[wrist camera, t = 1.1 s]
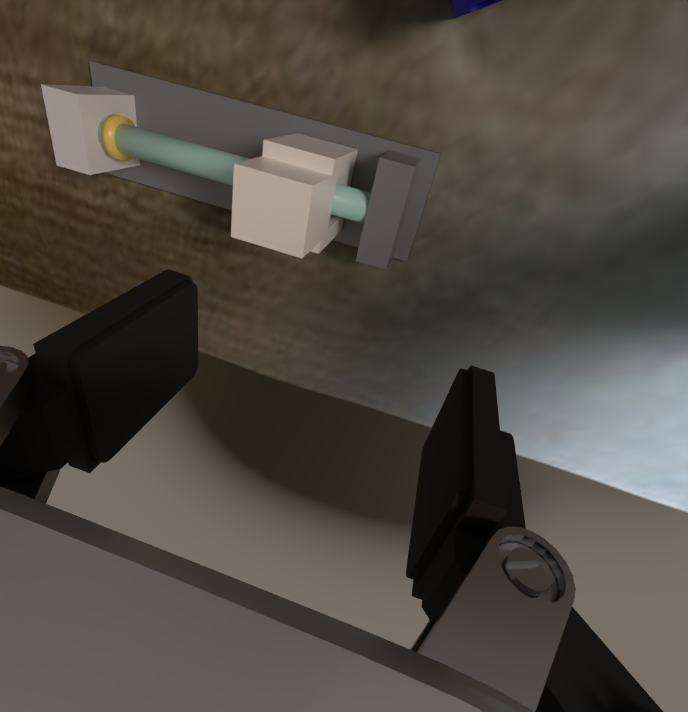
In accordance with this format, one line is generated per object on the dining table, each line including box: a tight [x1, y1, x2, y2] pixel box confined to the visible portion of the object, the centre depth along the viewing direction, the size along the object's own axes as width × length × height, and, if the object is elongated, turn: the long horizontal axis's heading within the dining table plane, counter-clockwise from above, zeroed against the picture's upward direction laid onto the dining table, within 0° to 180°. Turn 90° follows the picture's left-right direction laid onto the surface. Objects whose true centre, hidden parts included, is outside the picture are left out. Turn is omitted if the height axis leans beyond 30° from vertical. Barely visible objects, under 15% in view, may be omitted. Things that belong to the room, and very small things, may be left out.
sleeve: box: [231, 133, 358, 258], centre depth 23 cm, size 4×5×8 cm
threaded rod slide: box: [41, 61, 441, 270], centre depth 26 cm, size 24×7×5 cm, turn 78°
